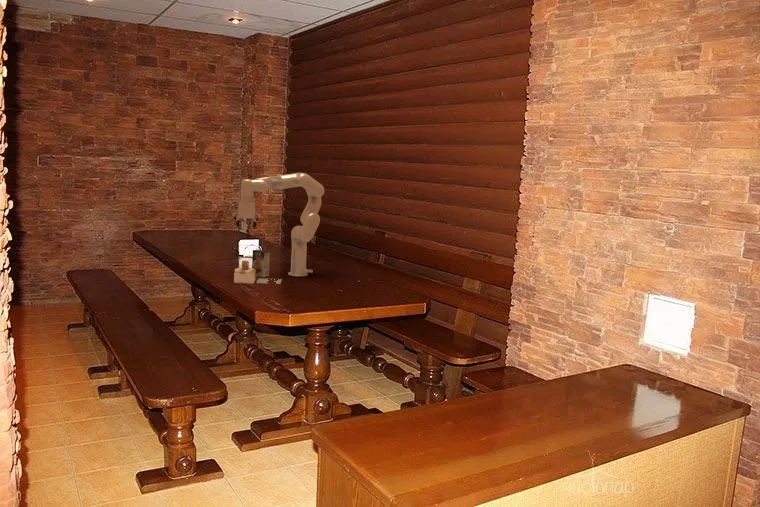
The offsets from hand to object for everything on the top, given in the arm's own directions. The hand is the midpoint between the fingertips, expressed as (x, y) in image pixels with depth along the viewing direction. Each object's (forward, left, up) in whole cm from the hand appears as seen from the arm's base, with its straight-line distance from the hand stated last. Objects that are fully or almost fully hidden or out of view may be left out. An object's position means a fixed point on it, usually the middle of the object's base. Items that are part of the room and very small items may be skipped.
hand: (246, 227), depth 381 cm
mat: (-16, +12, -30) cm, 36 cm away
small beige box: (-2, +16, -30) cm, 34 cm away
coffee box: (-9, -5, -31) cm, 32 cm away
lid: (-2, +16, -24) cm, 29 cm away
